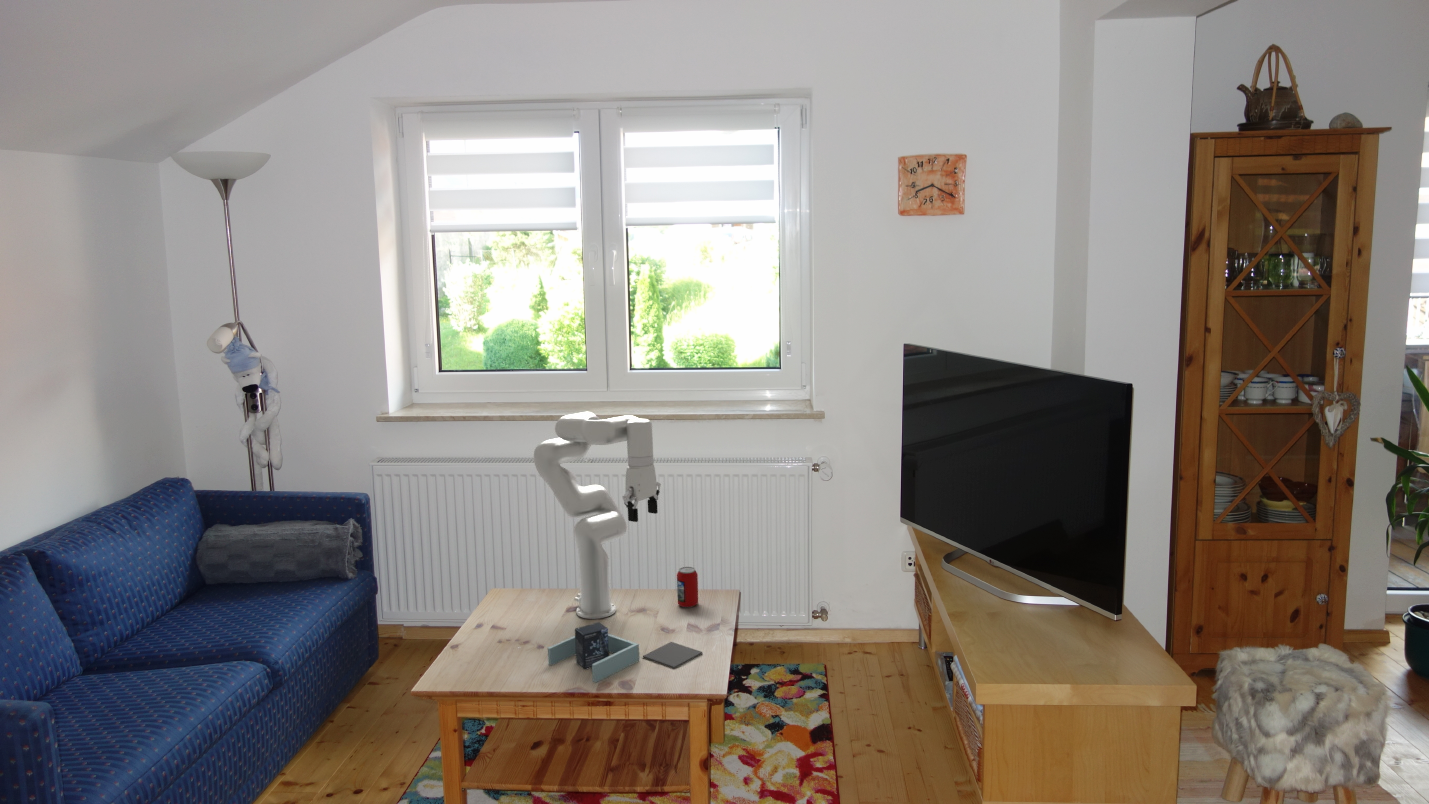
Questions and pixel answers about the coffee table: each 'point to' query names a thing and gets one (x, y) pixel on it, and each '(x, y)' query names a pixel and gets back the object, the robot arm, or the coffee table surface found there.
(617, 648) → the cubby
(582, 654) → the box
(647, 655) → the mat
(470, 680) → the coffee table surface
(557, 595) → the coffee table surface
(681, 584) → the beverage can
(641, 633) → the coffee table surface
